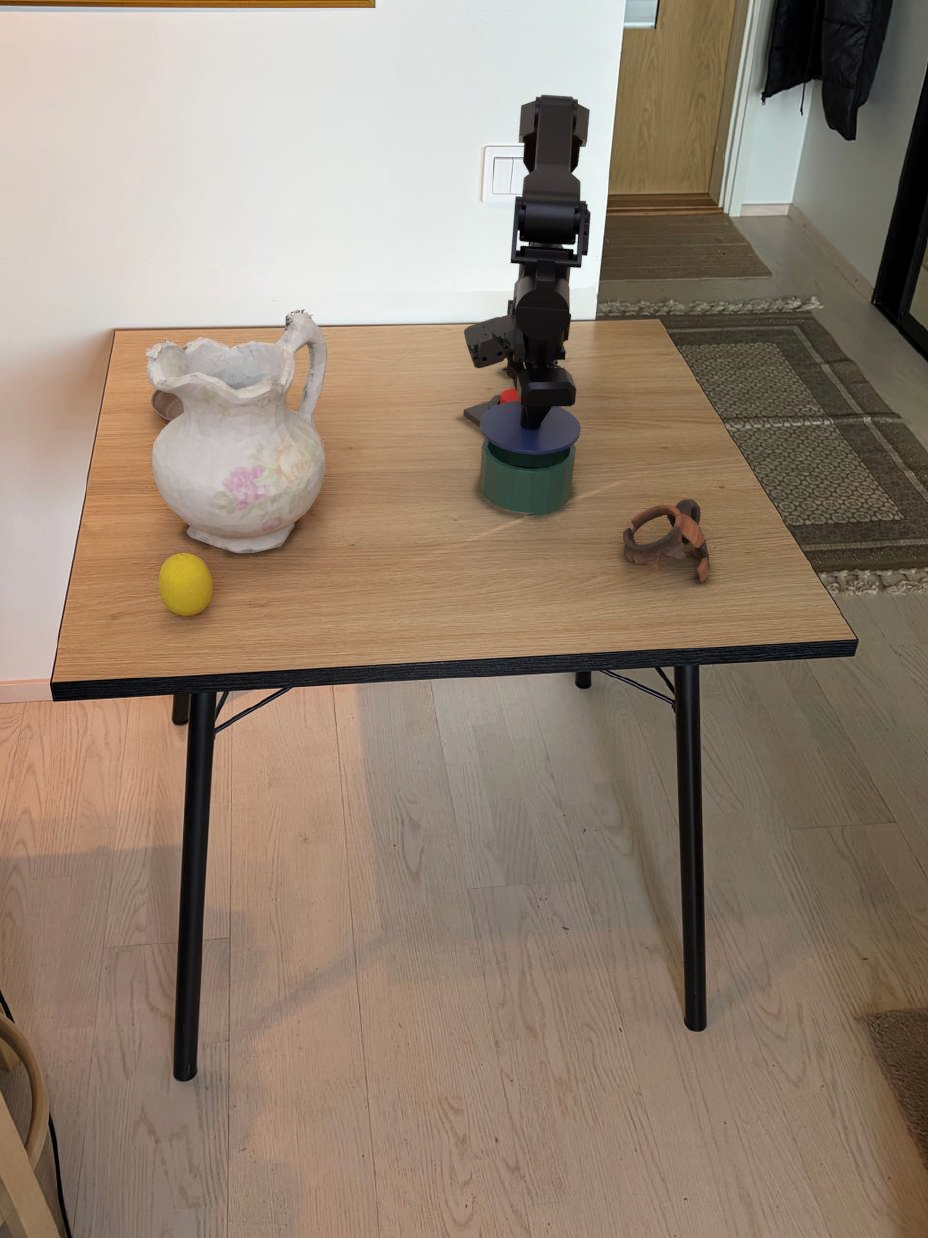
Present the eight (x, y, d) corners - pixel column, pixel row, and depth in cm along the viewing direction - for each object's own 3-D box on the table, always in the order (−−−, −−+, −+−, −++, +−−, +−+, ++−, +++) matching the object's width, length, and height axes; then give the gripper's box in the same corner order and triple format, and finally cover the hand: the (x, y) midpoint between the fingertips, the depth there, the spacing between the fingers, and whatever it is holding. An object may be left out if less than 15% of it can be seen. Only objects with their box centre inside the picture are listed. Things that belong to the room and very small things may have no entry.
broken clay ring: (703, 602, 132) (676, 550, 127) (630, 604, 138) (602, 555, 133) (734, 528, 138) (709, 476, 133) (663, 533, 144) (637, 483, 139)
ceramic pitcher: (261, 467, 151) (234, 279, 136) (378, 510, 142) (363, 313, 127) (134, 543, 137) (88, 343, 122) (255, 596, 128) (221, 387, 113)
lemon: (171, 636, 123) (162, 575, 118) (157, 606, 126) (147, 546, 121) (222, 622, 125) (215, 562, 120) (206, 593, 128) (199, 534, 123)
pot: (532, 458, 154) (536, 415, 150) (588, 498, 147) (594, 454, 143) (462, 483, 148) (464, 439, 144) (517, 526, 141) (521, 481, 137)
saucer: (272, 391, 165) (270, 374, 163) (253, 445, 153) (252, 427, 151) (167, 386, 165) (165, 368, 163) (141, 439, 153) (138, 421, 151)
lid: (537, 399, 149) (541, 362, 146) (600, 441, 141) (605, 403, 138) (460, 424, 143) (461, 386, 140) (521, 469, 136) (524, 431, 132)
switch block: (514, 402, 165) (516, 379, 163) (563, 435, 159) (566, 413, 156) (462, 418, 161) (464, 396, 159) (511, 454, 154) (513, 430, 152)
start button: (517, 397, 160) (518, 385, 159) (535, 409, 158) (536, 397, 156) (494, 404, 158) (494, 393, 157) (511, 417, 156) (512, 405, 155)
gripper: (462, 267, 138) (457, 386, 148) (480, 338, 123) (473, 464, 133) (555, 267, 139) (544, 385, 149) (583, 337, 125) (569, 462, 135)
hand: (531, 422), depth 141 cm, fingers closed on lid, 3 cm apart
